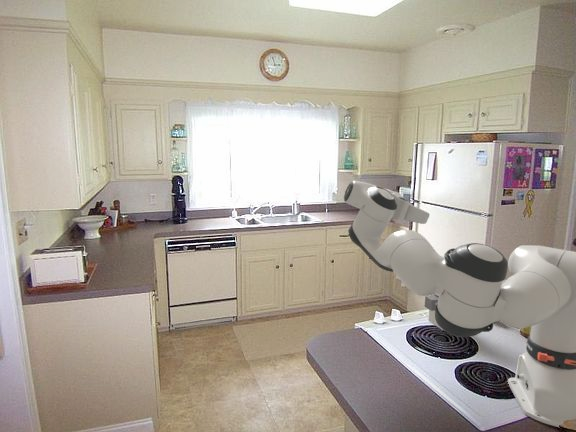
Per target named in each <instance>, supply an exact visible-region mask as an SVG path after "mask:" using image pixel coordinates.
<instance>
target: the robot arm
mask: <svg viewBox="0 0 576 432" xmlns="http://www.w3.org/2000/svg"><path fill="white" fill-rule="evenodd" d="M343 195H344V196H343V200H344V203H346V204H348V205H349V206H352V207H353V208H356V209H359V210H358V213H357V215H356V217H355V219H354V221H353V222H352V224H351V225H350V227H349V228H348V230H347V233H348V235H349V238H350V240H351V242H352V243H353V244H355V245H356V246H357V247H359V248H360V249H361V250H362V251H363V253H365V254H366V256H368V257H369V259H370V260H371V261H372V262H373V263H374V265H377V267H379V268H380V269H382V270H384V271H388V272H393V273H394V274H395V276H396V277H397V278H398V279H399V281H400V282H401V283H402V284H403V285H404V286H405V287H406V288H407V289H408V290H409V291H410V292H412V293H413V294H415V295H418V296H422V297H423V296H424V297H425V296H431V295H432V294H435V293H438V294H439V298H438V302H437V303H436V306H435V320H436V322H437V324H438V325H439V326H440V327H441V328H442V329H443V330H444V331H443V330H442V329H441V330H442V331H443V332H446V333H448V334H450V335H451V336H454V337H458V338H470V337H471V338H472V337H476V336H477V335H479V334H481V333H489V332H491V331H492V330H493V328H494V322H501V323H503V324H505V325H507V326H508V327H512V328H515V329H519V328H527V327H530V326H531V331H530V335H529V336H528V338H527V339H526V343H525V344H526V346H525V347H526V348H525V349H526V350H525V352H523V353H521V354H520V355H518V359H517V366H516V371H515V376H513V377H509V378H508V379H507V382H508V383H507V385H508V384H509V385H508V386H509V388H510V390H511V392H512V393H513V395H514V397H515V399H516V401H517V403H518V406H520V408H521V410H522V412H523V414H524V415H525V416H527V417H529V418H531V419H532V420H536V421H538V422H539V423H543V424H546V425H550V426H552V427H557V428H560V427H559V425H561V424H563V423H564V421H566V420H572V419H575V418H576V251H573V250H566V249H561V248H555V247H549V246H544V245H534V244H533V245H532V244H531V245H529V244H526V245H519V246H518V247H516V248H515V249H514V250H513V251H512V252H511V253H510V254H509V258H508V259H506V257H505V256H504V254H503V253H502V252H501V251H499V250H498V249H496V248H495V247H491V246H489V245H487V244H483V243H479V242H477V243H476V242H471V243H467V244H461V245H459V246H457V247H456V248H449V249H447V251H446V252H445V253H444V254H445V255H444V257H442V256H440V255H439V254H440V253H438V252H437V251H436V250H435V249H434V247H433V245H431V243H430V242H429V241H428V239H427V238H426V237H425V236H423V234H421V233H419V232H417V231H415V230H412V229H401V230H397V231H395V232H392V233H391V234H389V235H388V236H387V237H386V238H385V239H384V241H382V243H380V242H381V239H382V237H383V234H384V232H385V231H386V229H387V227H388V225H389V223H390V222H391V219H395V220H397V221H400V222H403V221H408V222H410V223H411V222H412V223H416V224H421V225H425V224H427V222H428V220H429V218H430V213H429V212H427V211H425V210H423V209H421V208H419V207H417V206H416V205H413V204H411V203H410V201H408V200H407V199H405V198H404V197H403V196H402V194H401V193H400V192H398V191H394V190H391V189H388V188H384V187H380V186H378V185H377V184H373V183H369V182H366V181H359V180H352V181H351V182H349V184H348V185H347V187H346V190H345V191H344V194H343ZM508 270H509V273H510V275H511V276H509V277H508V278H507V276H508V275H507V274H508ZM505 279H506V280H505ZM560 429H561V428H560Z"/></svg>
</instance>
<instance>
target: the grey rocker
mask: <svg viewBox="0 0 576 432" xmlns="http://www.w3.org/2000/svg"><path fill="white" fill-rule="evenodd" d="M438 298H439V296H437V295H433V296H431V295H428V296H424V307H425V309H428V310H431V311H434V310H435V306H436V303H437V302H438Z"/></svg>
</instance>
